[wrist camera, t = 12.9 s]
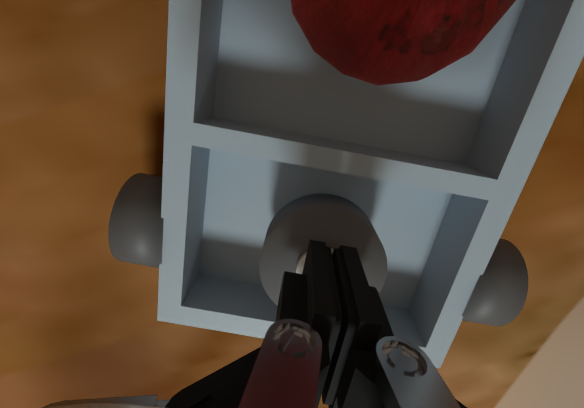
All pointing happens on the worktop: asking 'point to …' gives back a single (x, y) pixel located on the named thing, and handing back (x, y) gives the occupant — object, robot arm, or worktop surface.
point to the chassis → (344, 164)
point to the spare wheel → (318, 239)
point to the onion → (395, 34)
